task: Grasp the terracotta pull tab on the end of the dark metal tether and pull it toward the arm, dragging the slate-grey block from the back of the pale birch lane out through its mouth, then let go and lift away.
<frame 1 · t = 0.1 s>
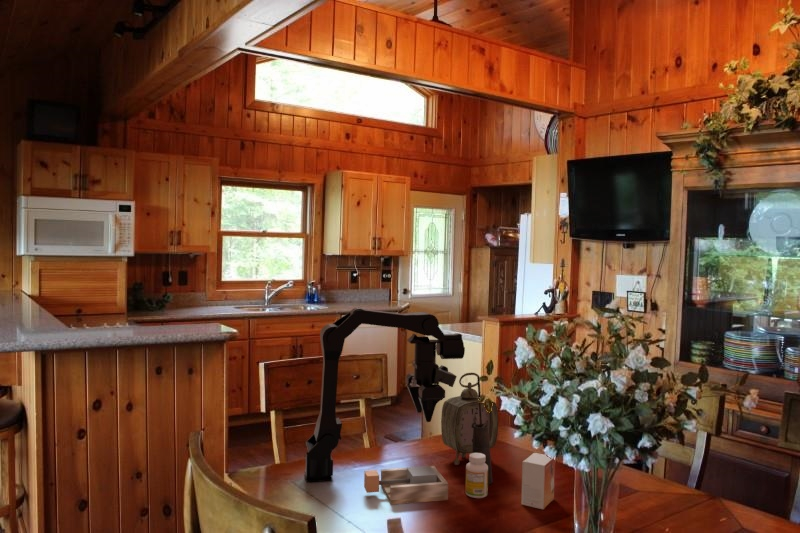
hand: (423, 417, 170), 15 cm above the table, fingers open, 9 cm apart
small box: (537, 502, 152), on the table
supplement bottle: (476, 495, 156), on the table
tethered block: (399, 479, 155), point 3 cm above the table, slide at 0.0 cm
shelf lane: (413, 492, 156), on the table
butter churn: (483, 481, 164), on the table
tabletop clock: (467, 460, 180), on the table
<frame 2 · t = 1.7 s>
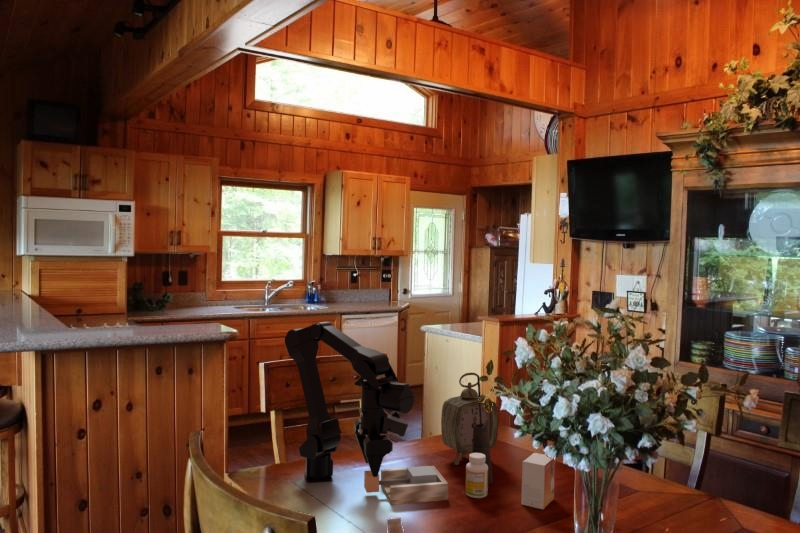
hand: (371, 469, 153), 6 cm above the table, fingers open, 9 cm apart
nothing on the table moved.
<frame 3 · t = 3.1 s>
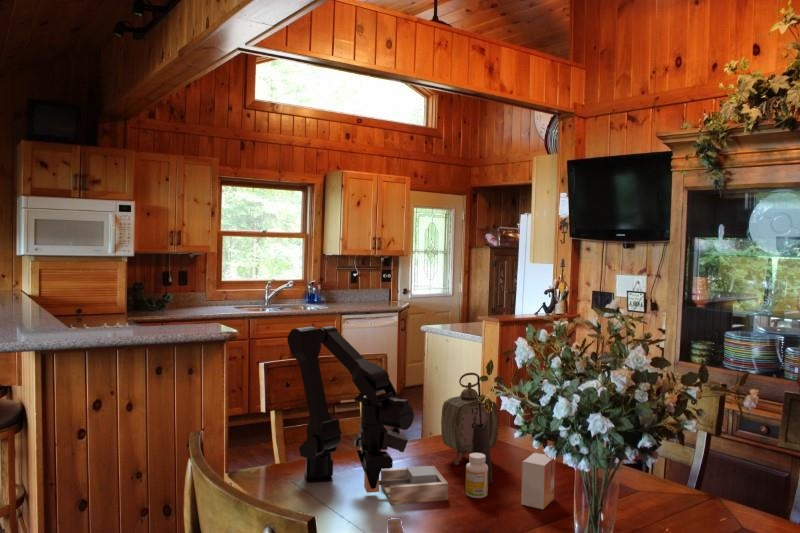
hand: (371, 485, 153), 3 cm above the table, fingers closed on tethered block, 4 cm apart
tethered block: (399, 479, 155), point 3 cm above the table, slide at 0.0 cm, touching gripper
everything else where it was.
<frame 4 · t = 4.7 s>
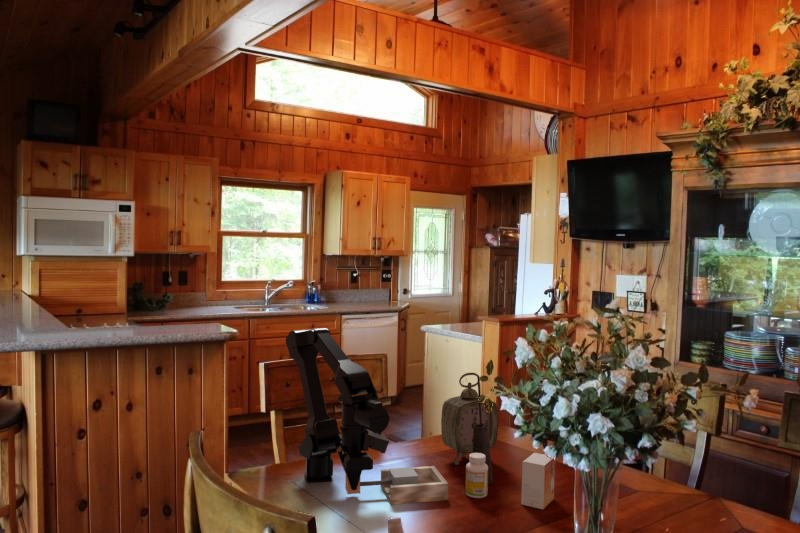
hand: (352, 486, 152), 3 cm above the table, fingers closed on tethered block, 4 cm apart
tethered block: (381, 481, 154), point 3 cm above the table, slide at 4.6 cm, touching gripper
everything else where it was.
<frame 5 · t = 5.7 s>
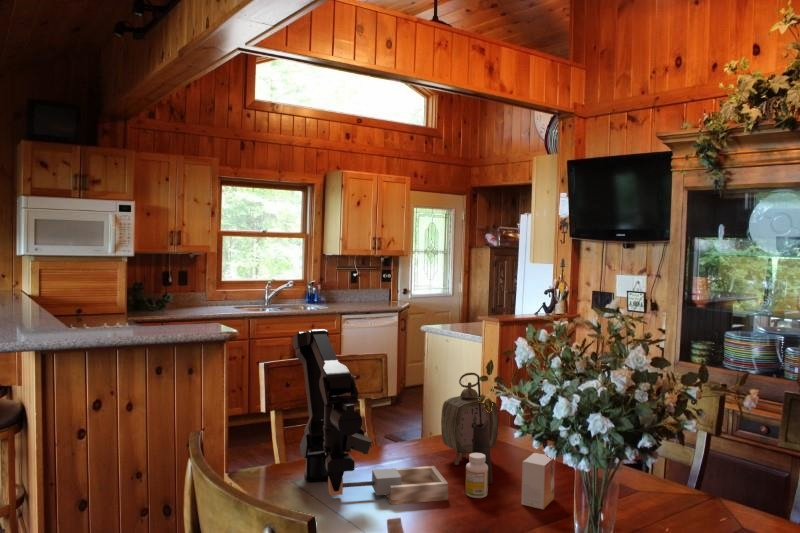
hand: (335, 487, 151), 2 cm above the table, fingers closed on tethered block, 4 cm apart
tethered block: (364, 482, 153), point 3 cm above the table, slide at 8.8 cm, touching gripper
everything else where it was.
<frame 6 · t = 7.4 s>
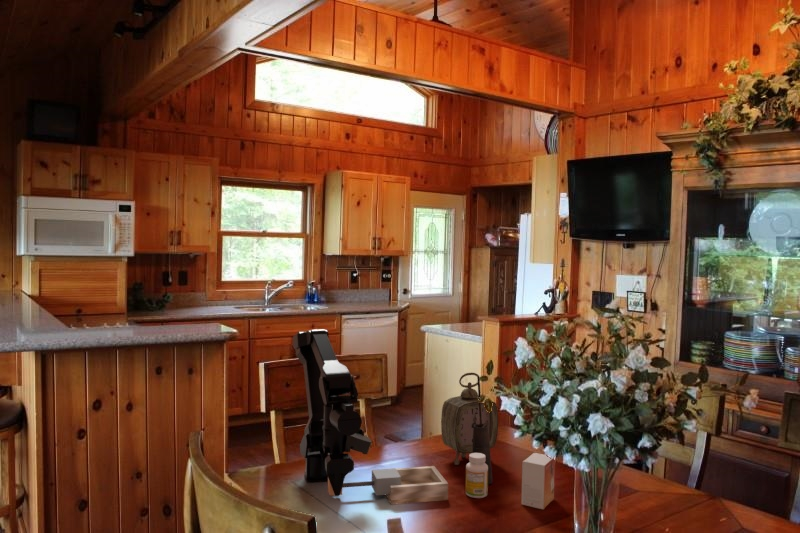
hand: (334, 488, 151), 2 cm above the table, fingers open, 9 cm apart
tethered block: (363, 482, 153), point 3 cm above the table, slide at 8.9 cm
everything else where it was.
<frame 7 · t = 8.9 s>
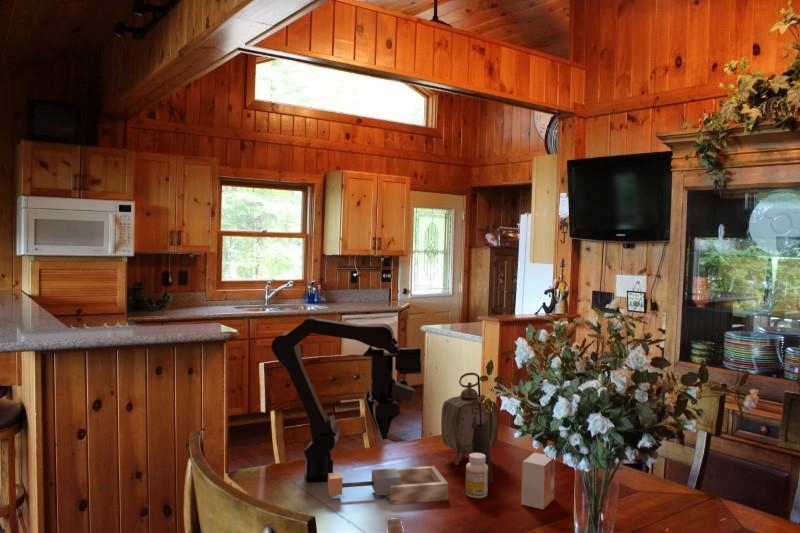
hand: (381, 433, 163), 12 cm above the table, fingers open, 9 cm apart
nothing on the table moved.
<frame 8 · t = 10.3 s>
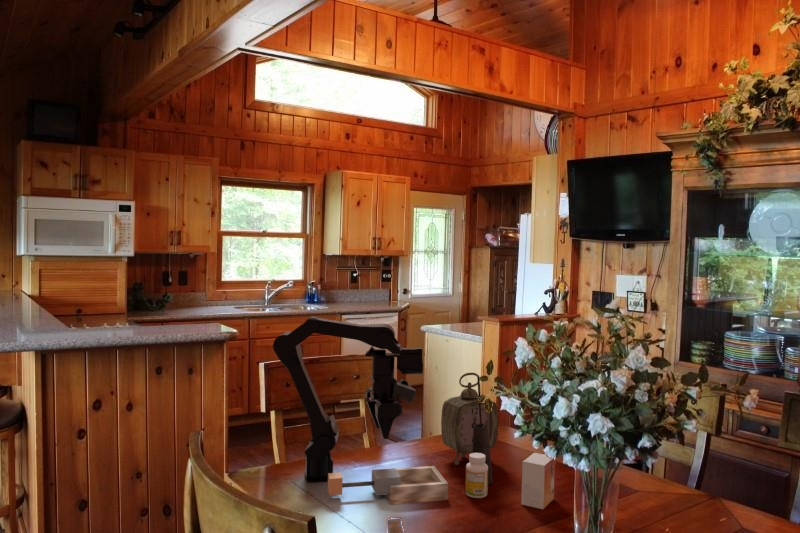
hand: (382, 433, 164), 12 cm above the table, fingers open, 9 cm apart
nothing on the table moved.
at the end: tethered block slide at 8.9 cm; the gripper is holding nothing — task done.
